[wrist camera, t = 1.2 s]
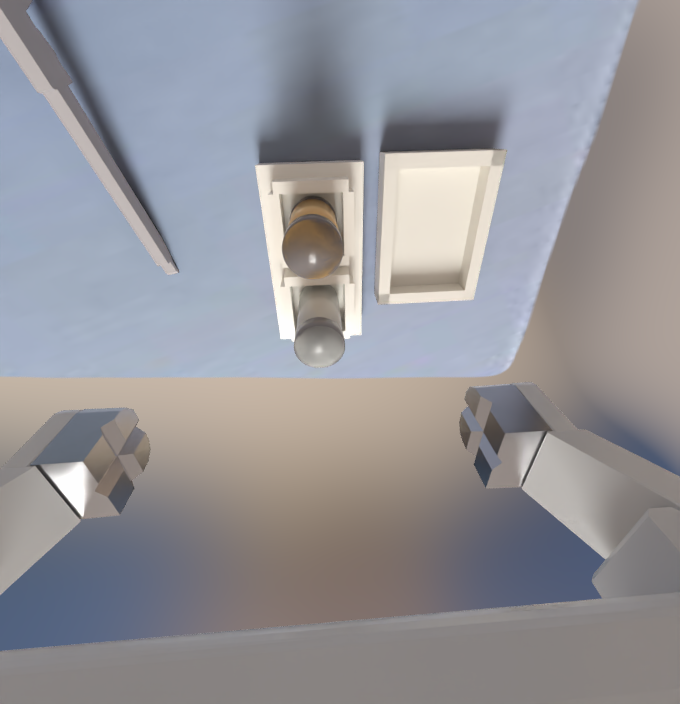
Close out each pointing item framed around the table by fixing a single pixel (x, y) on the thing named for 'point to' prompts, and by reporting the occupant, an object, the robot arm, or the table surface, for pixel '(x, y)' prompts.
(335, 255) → the fuse
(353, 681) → the robot arm
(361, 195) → the block
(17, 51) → the caliper
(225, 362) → the table surface
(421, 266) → the parts tray
